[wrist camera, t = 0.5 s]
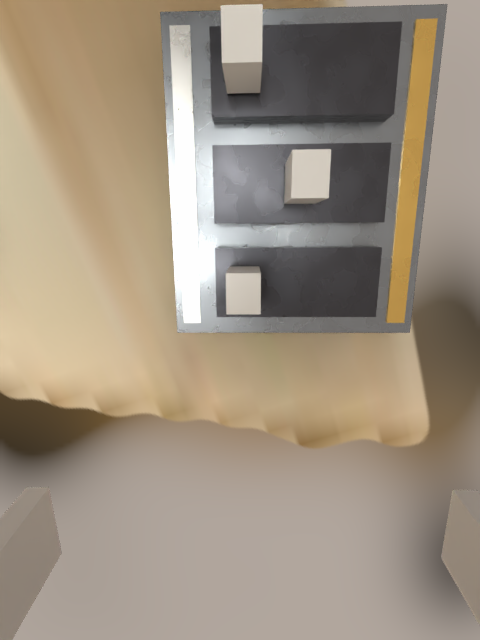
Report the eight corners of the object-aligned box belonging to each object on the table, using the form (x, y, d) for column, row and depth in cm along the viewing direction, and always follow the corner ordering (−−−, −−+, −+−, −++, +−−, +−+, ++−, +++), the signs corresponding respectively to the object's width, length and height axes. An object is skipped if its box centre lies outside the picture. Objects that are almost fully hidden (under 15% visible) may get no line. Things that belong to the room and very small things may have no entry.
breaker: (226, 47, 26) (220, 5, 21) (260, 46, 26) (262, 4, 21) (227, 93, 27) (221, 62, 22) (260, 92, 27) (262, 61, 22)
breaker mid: (285, 163, 28) (292, 149, 23) (317, 163, 28) (331, 149, 23) (284, 203, 28) (291, 198, 24) (315, 203, 28) (328, 198, 24)
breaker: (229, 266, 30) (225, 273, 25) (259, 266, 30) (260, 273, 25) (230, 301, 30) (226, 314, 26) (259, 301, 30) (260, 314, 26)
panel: (167, 29, 30) (153, -5, 25) (431, 23, 29) (462, -14, 25) (182, 325, 36) (172, 338, 32) (398, 325, 36) (419, 338, 31)
